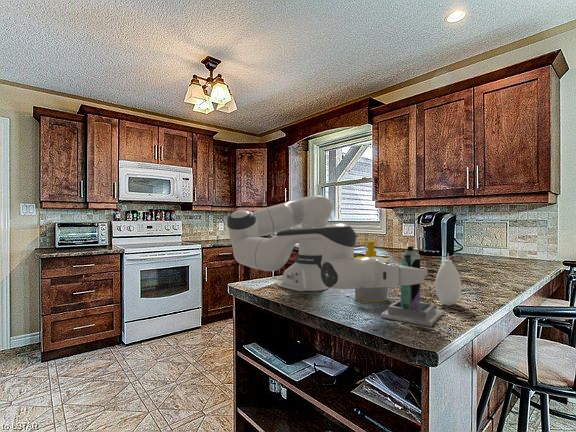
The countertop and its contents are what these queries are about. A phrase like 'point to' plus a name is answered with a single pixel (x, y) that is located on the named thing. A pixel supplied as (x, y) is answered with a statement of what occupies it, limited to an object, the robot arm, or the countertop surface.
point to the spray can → (410, 292)
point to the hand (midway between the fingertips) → (414, 269)
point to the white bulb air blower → (448, 283)
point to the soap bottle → (371, 293)
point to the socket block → (413, 313)
